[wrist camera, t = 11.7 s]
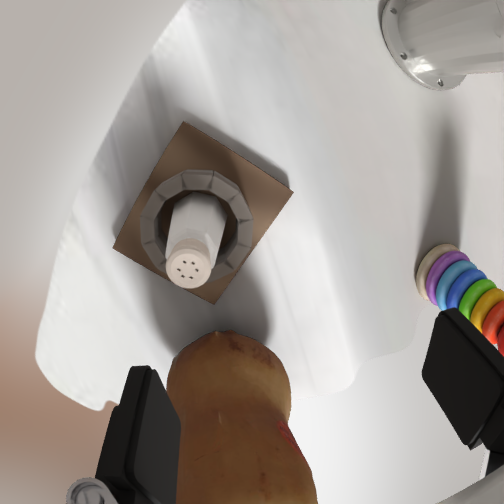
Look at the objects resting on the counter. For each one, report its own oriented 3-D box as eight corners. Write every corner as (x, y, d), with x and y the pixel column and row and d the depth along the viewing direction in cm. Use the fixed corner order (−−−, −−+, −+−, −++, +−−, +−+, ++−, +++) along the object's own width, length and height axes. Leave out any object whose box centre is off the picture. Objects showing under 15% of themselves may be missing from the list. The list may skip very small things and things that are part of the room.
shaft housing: (185, 122, 27) (178, 119, 22) (290, 189, 30) (303, 200, 25) (116, 242, 30) (100, 262, 26) (214, 297, 34) (213, 323, 29)
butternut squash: (291, 375, 39) (340, 548, 16) (198, 401, 40) (200, 569, 17) (259, 292, 34) (317, 521, 11) (150, 327, 34) (105, 535, 11)
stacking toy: (406, 297, 37) (492, 393, 19) (422, 239, 34) (532, 320, 16) (447, 295, 38) (530, 375, 20) (463, 243, 35) (563, 311, 17)
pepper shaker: (205, 257, 30) (200, 322, 20) (159, 225, 29) (129, 278, 18) (239, 213, 29) (251, 260, 19) (191, 179, 27) (175, 208, 17)
